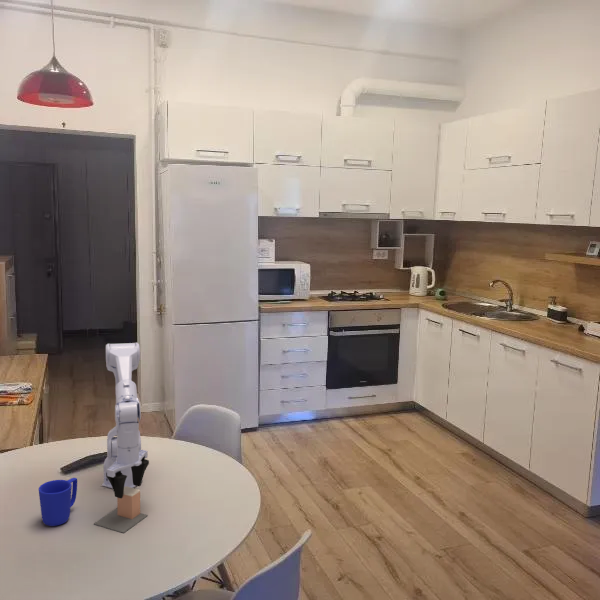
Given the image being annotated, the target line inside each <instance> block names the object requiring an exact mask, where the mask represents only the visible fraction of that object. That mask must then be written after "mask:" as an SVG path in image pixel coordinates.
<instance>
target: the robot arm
mask: <svg viewBox="0 0 600 600" xmlns="http://www.w3.org/2000/svg"><path fill="white" fill-rule="evenodd" d="M140 347H141V346H140V344H139V342H137V341H136V342H132V343H131V342H129V343H125V342H124V343H107V344H105V362H106V365H105V366H106V370H107V371H109V372H112V373H113V375H114V378H115V379H114V380H115V381H114V382H115V387H114V388H115V389H114V390H115V405H114V421H115V426H114V427H113V428H111V429H110V430H109V431H108V433H107V437H106V438H107V439H106V452H107V455H106V456H107V457H106V458H105V459H104V462H103V483H102V484H101V486H102V487H105V488H109V489H112V490H113V493H114V497H115V498H122V497H123V494H124V487H125V486H127V487H131V488H135V487H141V485H142V483H143V478H144V474H145V472H146V470H147V468H148V466H149V465H150V460H148V459H147V458H148V457H149V456H148V451H149V450H145V449H142V439H141V438H142V437H141V431H140V430H139V429H140V427H139V426H140V424H139V423H140V422H141V418H142V417H141V416H142V413H141V411H142V410H141V409H142V408H141V403H140V401H139V398H138V391H137V389H138V388H137V384H136V383H135V381H133V380H132V377H133V375H132V373H133V371H134V370H135V371H136V370H137V369H138V366H139V365H140V361H141V351H140V350H141V348H140Z"/></svg>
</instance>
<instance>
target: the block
mask: <svg viewBox="0 0 600 600" xmlns="http://www.w3.org/2000/svg"><path fill="white" fill-rule="evenodd" d="M116 498H117V497H116ZM116 502H117V504H116V505H117V507H116V508H117V513H118V515H119V516H123V517H126V518H130V519H133V518H135V517H136V516H137V515H139V514H140V513H141V489H139V488H135V487H134V488H131V487H127V486H125V487H124V494H123V497H122V498H117V499H116Z"/></svg>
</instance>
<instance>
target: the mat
mask: <svg viewBox="0 0 600 600" xmlns="http://www.w3.org/2000/svg"><path fill="white" fill-rule="evenodd" d="M147 517H148V514H145V513H142V512H140V514H139V515H137V516H136V517H135V518H133V519H130V518H126V517H123V516H119V515H118V513H117V507H116V508H115V509H113V510H112V511H110V512H109V513H107V514H106V515H104V516H103V517H102V518H100V519H98V520H96V521H95V522H94V523H93V525H94V526H98V527H102V528H105V529H108V530H111V531H115V532H118V533H121V534H125V533H127V532H128V531H129V530H131V529H132V528H133V527H134V526H136V525H137V524H139V523H140V522H141V521H143V520H145V518H147Z"/></svg>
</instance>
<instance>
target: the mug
mask: <svg viewBox="0 0 600 600" xmlns="http://www.w3.org/2000/svg"><path fill="white" fill-rule="evenodd" d="M77 492H78V478H77V477H71V478H70V479H68V480H67V479H55V480H48V481H46V482H44V483H42V484H41V485H40V486H39V487H38V496H39V505H40V513H41V520H42V523H43V524H44V525H45V526H48V527H56V526H61V525H63V524H65V523H66V522H68V520H69V519H70V516H71V515H70V514H71V507H73V506H74V504H75V502H76V499H77Z"/></svg>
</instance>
